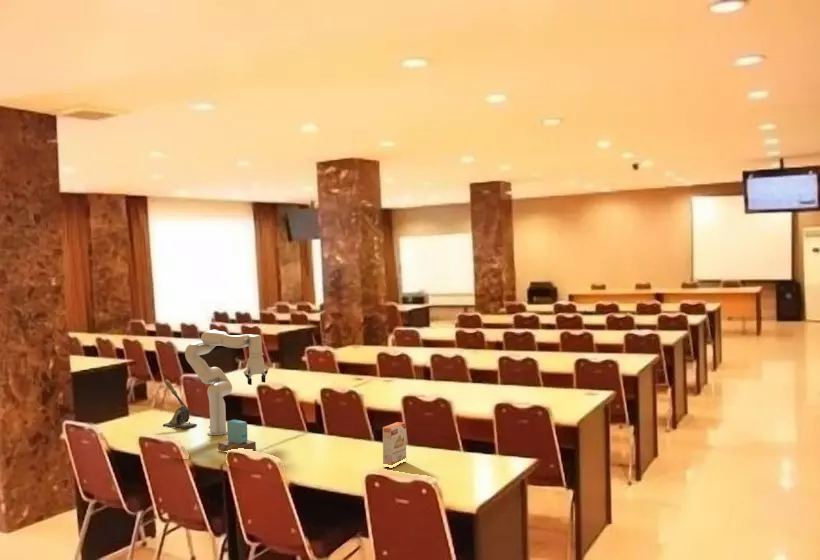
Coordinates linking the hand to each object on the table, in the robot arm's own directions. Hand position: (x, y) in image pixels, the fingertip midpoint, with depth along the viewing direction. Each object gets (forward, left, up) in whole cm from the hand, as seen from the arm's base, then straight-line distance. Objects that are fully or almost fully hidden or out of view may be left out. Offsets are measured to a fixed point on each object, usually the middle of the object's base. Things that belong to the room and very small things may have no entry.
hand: (256, 383), depth 435 cm
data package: (+17, -25, -28) cm, 41 cm away
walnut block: (+17, -26, -33) cm, 45 cm away
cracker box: (+107, +11, -32) cm, 113 cm away
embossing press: (-64, -18, -33) cm, 74 cm away
